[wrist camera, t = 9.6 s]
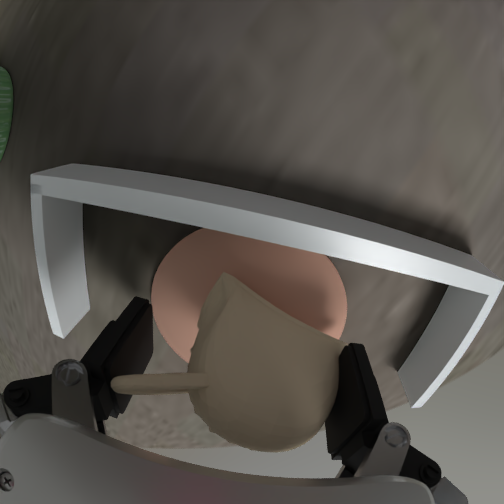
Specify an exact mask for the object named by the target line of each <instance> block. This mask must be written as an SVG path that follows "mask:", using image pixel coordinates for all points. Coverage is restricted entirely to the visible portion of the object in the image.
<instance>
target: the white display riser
mask: <svg viewBox="0 0 504 504" xmlns="http://www.w3.org/2000/svg"><path fill="white" fill-rule="evenodd" d="M83 203H86V204H91V205H96V206H101V207H106V208H111V209H116V210H121V211H126V212H131V213H136V214H141V215H146V216H151V217H155V218H160V219H165V220H170V221H175V222H179V223H184V224H189V225H193V226H198V227H203V228H207V229H212V230H217V231H221V232H226V233H230V234H235V235H240V236H244V237H249V238H253V239H258V240H262V241H267V242H271V243H276V244H280V245H284V246H289V247H293V248H298V249H302V250H306V251H311V252H315V253H319V254H324V255H328V256H332V257H337V258H341V259H345V260H349V261H354V262H358V263H362V264H366V265H370V266H375V267H379V268H383V269H387V270H391V271H395V272H399V273H403V274H408V275H412V276H416V277H420V278H424V279H428V280H432V281H436V282H440V283H444V284H448V285H449V286H448V288H447V290H446V292H445V294H444V296H443V298H442V300H441V302H440V304H439V306H438V308H437V310H436V312H435V313H434V315H433V317H432V319H431V321H430V322H429V324H428V326H427V328H426V329H425V331H424V333H423V334H422V336H421V337H420V339H419V341H418V342H417V344H416V345H415V347H414V349H413V350H412V352H411V353H410V355H409V356H408V358H407V359H406V361H405V362H404V364H403V365H402V366H401V368H400V369H399V371H398V375H399V377H400V380H401V383H402V385H403V388H404V390H405V393H406V396H407V398H408V401H409V404H410V406H411V408H417V407H422V405H423V404H424V403H425V402H426V401H427V400H428V399H429V398H430V396H431V395H432V394H433V393H434V392H435V391H436V389H437V388H438V387H439V386H440V385H441V383H442V382H443V381H444V380H445V378H446V377H447V376H448V374H449V373H450V372H451V371H452V369H453V368H454V367H455V365H456V364H457V362H458V361H459V360H460V358H461V357H462V355H463V354H464V353H465V351H466V350H467V348H468V347H469V345H470V344H471V342H472V341H473V339H474V337H475V336H476V334H477V333H478V331H479V329H480V328H481V326H482V324H483V323H484V321H485V319H486V317H487V316H488V314H489V312H490V310H491V308H492V307H493V305H494V303H495V301H496V299H497V297H498V295H499V293H500V291H501V289H502V287H503V285H504V281H503V280H502V279H501V278H499V277H498V276H497V275H496V274H495V273H494V272H492V271H491V270H490V269H489V268H487V267H486V266H485V265H484V264H483V263H481V262H480V261H479V260H477V259H476V258H475V257H474V256H472V255H470V254H467V253H464V252H462V251H459V250H456V249H453V248H451V247H448V246H445V245H442V244H439V243H436V242H433V241H430V240H427V239H424V238H421V237H418V236H415V235H412V234H409V233H406V232H403V231H400V230H397V229H393V228H390V227H387V226H384V225H380V224H377V223H374V222H370V221H367V220H363V219H360V218H356V217H353V216H349V215H345V214H342V213H338V212H334V211H331V210H327V209H323V208H319V207H315V206H311V205H307V204H303V203H299V202H295V201H291V200H287V199H283V198H278V197H274V196H269V195H265V194H261V193H256V192H251V191H247V190H242V189H237V188H232V187H227V186H222V185H217V184H212V183H207V182H201V181H196V180H190V179H184V178H179V177H173V176H167V175H160V174H154V173H147V172H140V171H133V170H126V169H119V168H111V167H102V166H94V165H84V164H75V163H72V164H68V165H63V166H59V167H55V168H51V169H47V170H44V171H40V172H36V173H33V174H31V213H32V226H33V236H34V245H35V253H36V259H37V266H38V272H39V277H40V282H41V287H42V292H43V296H44V301H45V305H46V309H47V313H48V317H49V320H50V324H51V327H52V331H53V334H55V335H57V336H59V337H61V338H63V339H64V338H65V337H66V336H67V334H68V333H69V332H70V331H71V330H72V329H73V327H74V326H75V325H76V324H77V323H78V322H79V321H80V320H81V318H82V317H83V316H84V315H85V314H86V313H87V312H88V311H89V310H90V303H89V296H88V289H87V280H86V270H85V259H84V243H83Z"/></svg>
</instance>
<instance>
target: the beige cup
mask: <svg viewBox="0 0 504 504" xmlns="http://www.w3.org/2000/svg"><path fill="white" fill-rule="evenodd" d="M197 327H198V329H199V331H198V333H197V336H196V339H195V342H194V345H193V347H192V348H191V349H190V352H191V356H190V360H189V364H188V372H187V373H165V374H133V375H124V376H118V377H115V378H113V379H112V381H111V388H112V389H113V390H114V391H115V392H117V393H121V394H131V395H167V394H183V393H189V396H190V400H191V402H192V404H193V405H194V411H195V413H196V414H197V415H199V416H200V417H201V418H202V420H203V421H204V422H205V423H206V424H207V425H208V426H209V430H210V432H213V433H216V434H218V435H219V436H221V437H222V438H224V439H226V440H227V441H228V442H229V443H233V444H237V445H239V446H241V447H244V448H248V449H250V450H256V451H263V452H284V451H289V450H292V449H295V448H297V447H299V446H301V445H303V444H305V443H306V442H308V441H309V440H310V439H311V438H313V436H315V435H316V434H317V432H318V431H319V430H320V428H321V427H322V425H323V424H324V422H325V421H326V419H327V417H328V416H329V414H330V412H331V410H332V407H333V405H334V402H335V399H336V395H337V391H338V385H339V355H340V354H341V352H342V350H343V348H344V347H345V346H346V345H347V346H348V345H349V344H347V343H345V342H342V341H340V340H338V339H336V338H333V337H331V336H329V335H327V334H325V333H323V332H321V331H319V330H317V329H315V328H313V327H311V326H309V325H307V324H305V323H303V322H301V321H299V320H297V319H295V318H293V317H292V316H290V315H288V314H287V313H285V312H283V311H281V310H280V309H278V308H276V307H275V306H274V305H272V304H271V303H269V302H268V301H266V300H265V299H263V298H262V297H261V296H259V295H258V294H256V293H255V292H254V291H252V290H251V289H250V288H248V287H247V286H246V285H244V284H243V283H242V282H240V281H239V280H238V279H236V278H235V277H234V276H232V275H230V274H227V273H225V272H223V273H222V274H221V276H220V277H219V279H218V280H217V282H216V283H215V285H214V286H213V288H212V290H211V291H210V293H209V295H208V296H207V298H206V300H205V302H204V304H203V306H202V308H201V312H200V316H199V320H198V323H197Z"/></svg>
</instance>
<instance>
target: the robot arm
mask: <svg viewBox="0 0 504 504" xmlns="http://www.w3.org/2000/svg"><path fill="white" fill-rule="evenodd" d="M152 354H153V307H152V304H149V300H147V299H143V298H140V297H137V296H136V297H134V298H133V300H132V301H131V302H130V303H129V305H128V306H127V307H126V308H125V310H124V311H123V312H122V314H121V315H120V316H119V318H118V319H117V320H116V321H110V322H109V323H108V325H107V326H106V327H105V329H104V330H103V331H102V332H101V334H100V335H99V336H98V338H97V339H96V340H95V342H94V343H93V344H92V346H91V347H90V348H89V350H88V351H87V352H86V354H85V355H84V356H83V358H82V359H81V361H80V362H79V361H77V360H74V359H66V360H62V361H60V362H58V363H57V364H56V365H55V366H54V368H53V370H52V374H50V375H45V376H40V377H34V378H29V379H23V380H17V381H13V382H11V383H9V384H8V385H7V386H6V388H5V390H4V392H3V393H0V504H468V500H467V497H466V496H465V495H464V494H463V493H462V492H461V491H460V490H459V489H458V488H457V487H455V486H454V485H453V484H452V483H451V482H450V481H449V480H448V479H447V478H446V477H443V478H441V469H440V467H439V465H438V464H437V463H436V462H435V461H433V460H432V459H430V458H428V457H427V456H426V455H424V454H423V453H421V452H420V451H418V450H417V449H415V448H414V447H412V446H411V445H410V440H411V438H410V434H409V432H408V430H407V429H406V428H405V427H404V426H403V425H401V424H399V423H394V422H391V423H389V422H388V419H387V415H386V411H385V408H384V404H383V401H382V398H381V394H380V391H379V388H378V385H377V381H376V378H375V376H374V375H373V371H372V368H371V365H370V362H369V359H368V356H367V353H366V350H365V347H364V345H363V344H357V343H350V344H349V345H348V346H347V345H346V346H345V347H344V348H343V350H342V352H341V354H340V355H339V385H338V391H337V395H336V399H335V402H334V405H333V407H332V410H331V412H330V414H329V416H328V417H327V419H326V421H325V427H326V437H327V448H328V453H330V454H331V456H332V460H342V464H343V466H342V468H341V469H340V471H339V473H338V474H337V476H336V477H335V478H324V479H323V478H322V479H308V478H305V479H304V478H282V477H268V476H259V475H250V474H243V473H236V472H229V471H224V470H218V469H214V468H209V467H204V466H200V465H195V464H191V463H187V462H183V461H179V460H176V459H172V458H168V457H165V456H162V455H159V454H155V453H152V452H149V451H146V450H143V449H141V448H138V447H135V446H132V445H130V444H127V443H124V442H122V441H119V440H116V439H114V438H112V437H109V436H108V435H107V430H106V426H105V421H104V420H107V419H108V417H109V415H110V416H112V417H114V418H117V417H118V415H119V413H121V414H123V413H124V411H125V409H126V407H127V405H128V403H129V401H130V399H131V397H132V395H131V394H121V393H117V392H115V391H114V390H113V389H112V388H111V381H112V379H113V378H115V377H118V376H124V375H133V374H143V373H144V371H145V369H146V367H147V365H148V363H149V361H150V359H151V357H152Z"/></svg>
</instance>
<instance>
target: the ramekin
mask: <svg viewBox="0 0 504 504" xmlns="http://www.w3.org/2000/svg"><path fill="white" fill-rule="evenodd" d="M12 114H13V87H12V81H11V78H10V75H9V74H8V72H7V71H6V70H5V69H4V68H2V67H0V161H1V159H2V157H3V154H4V151H5V148H6V145H7V142H8V138H9V133H10V128H11V122H12Z"/></svg>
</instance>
